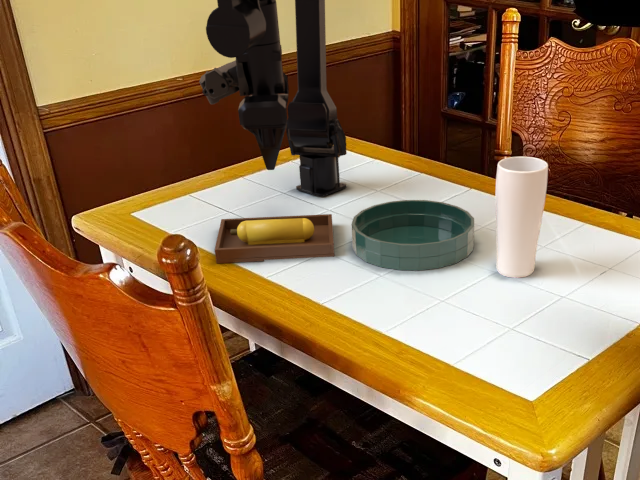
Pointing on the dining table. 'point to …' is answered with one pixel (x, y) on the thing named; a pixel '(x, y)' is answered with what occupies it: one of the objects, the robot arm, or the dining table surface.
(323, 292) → the dining table surface
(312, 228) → the yellow gas canister
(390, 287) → the dining table surface
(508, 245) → the drinking glass
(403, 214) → the green round cake pan
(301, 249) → the tray
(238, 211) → the dining table surface
